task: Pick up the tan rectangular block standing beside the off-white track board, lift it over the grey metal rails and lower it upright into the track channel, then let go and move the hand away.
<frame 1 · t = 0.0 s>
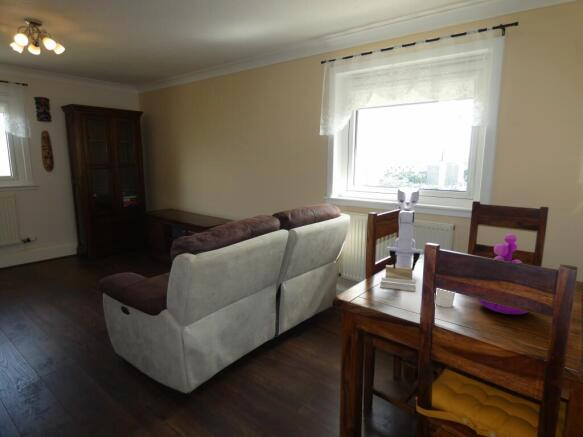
hand: (403, 269, 148), 10 cm above the table, tool pointing down, fingers open, 7 cm apart
tan rectangular block: (398, 281, 162), on the table
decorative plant: (502, 310, 131), on the table
track board: (397, 286, 155), on the table
white cup: (443, 304, 136), on the table
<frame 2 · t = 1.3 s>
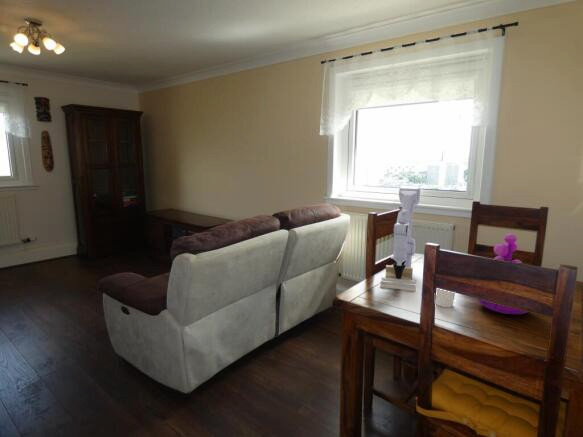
hand: (398, 276, 161), 2 cm above the table, tool pointing down, fingers open, 7 cm apart
nothing on the table moved.
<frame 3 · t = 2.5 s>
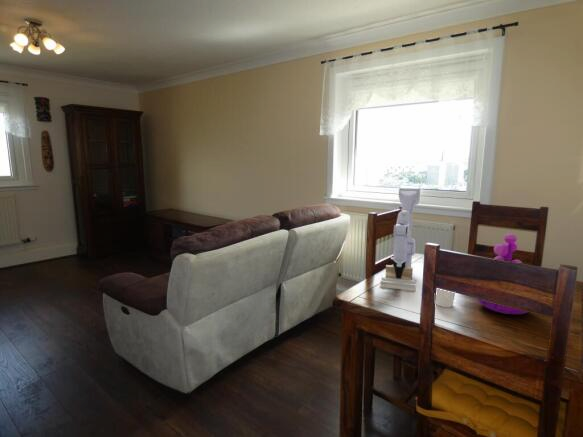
hand: (398, 277, 162), 2 cm above the table, tool pointing down, fingers closed on tan rectangular block, 2 cm apart
tan rectangular block: (398, 281, 162), on the table, touching gripper
everything else where it was.
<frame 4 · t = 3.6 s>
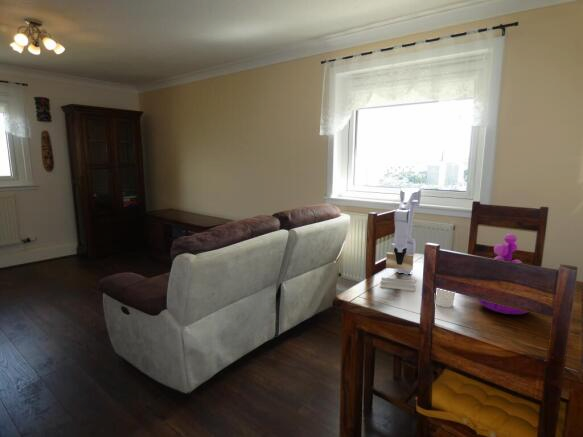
hand: (399, 263, 160), 9 cm above the table, tool pointing down, fingers closed on tan rectangular block, 2 cm apart
tan rectangular block: (399, 268, 161), point 6 cm above the table, touching gripper
everything else where it was.
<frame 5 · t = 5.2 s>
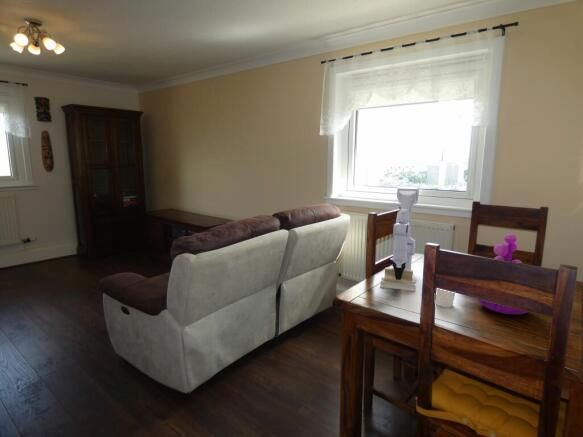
hand: (398, 278, 154), 4 cm above the table, tool pointing down, fingers closed on tan rectangular block, 2 cm apart
tan rectangular block: (397, 284, 155), point 1 cm above the table, touching gripper, track board
everything else where it was.
when the fingers open (4 cm above the table, at t = 5.8 s): tan rectangular block stays where it is, resting on track board.
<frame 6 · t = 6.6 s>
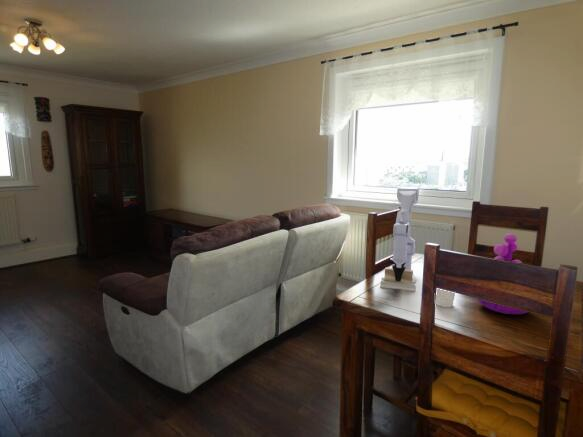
hand: (398, 278, 154), 4 cm above the table, tool pointing down, fingers open, 7 cm apart
tan rectangular block: (397, 284, 155), point 1 cm above the table, touching track board
everything else where it was.
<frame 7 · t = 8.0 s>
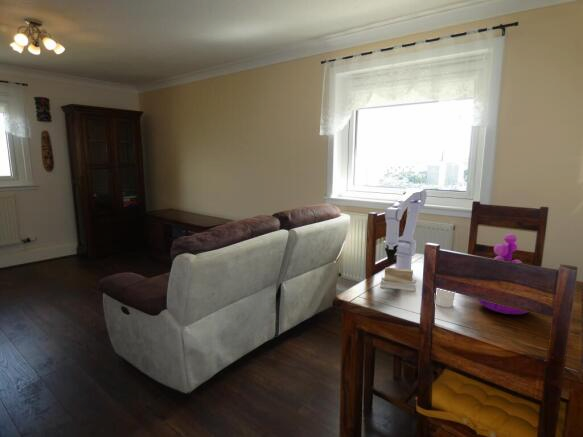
hand: (390, 260, 163), 9 cm above the table, tool pointing down, fingers open, 7 cm apart
nothing on the table moved.
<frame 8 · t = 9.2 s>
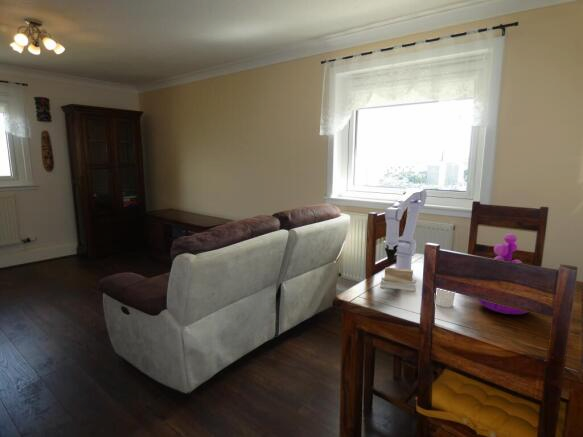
hand: (390, 260, 163), 9 cm above the table, tool pointing down, fingers open, 7 cm apart
nothing on the table moved.
at the end: tan rectangular block 0.0 cm off-centre on the track board, point 1.0 cm above the track board's base; tan rectangular block tilted 0°; the gripper is holding nothing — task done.
